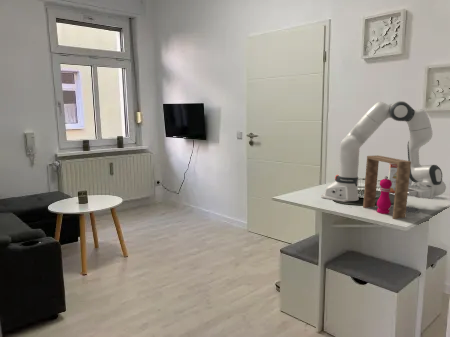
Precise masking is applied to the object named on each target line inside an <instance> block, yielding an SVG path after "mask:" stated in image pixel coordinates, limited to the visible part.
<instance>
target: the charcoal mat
mask: <svg viewBox="0 0 450 337" xmlns="http://www.w3.org/2000/svg"><path fill="white" fill-rule="evenodd" d="M419 211H420V210H419V209H418V208H416V207H414V206H412V207H411V206H408V205H407V206H406V213H409V214H410V213H412V214H413V213H415V212H416V213H418V212H419Z"/></svg>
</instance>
